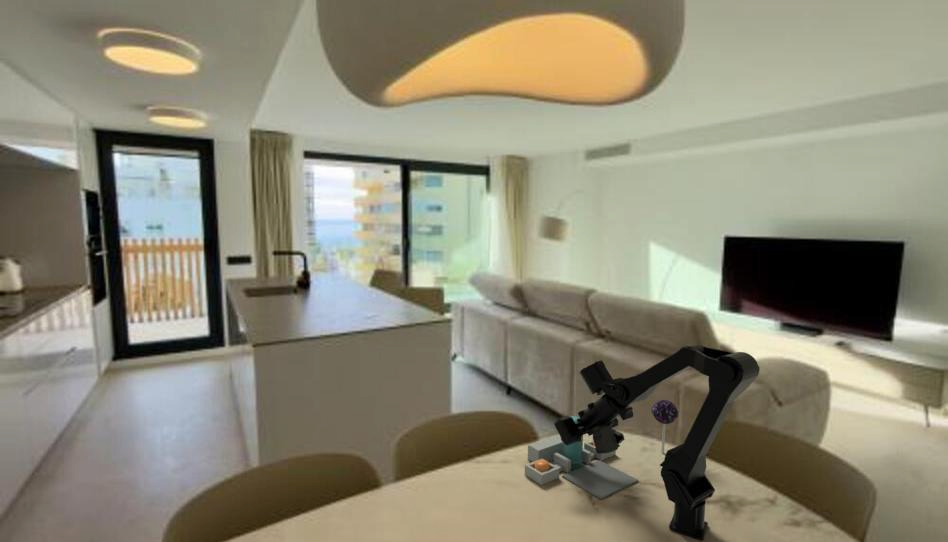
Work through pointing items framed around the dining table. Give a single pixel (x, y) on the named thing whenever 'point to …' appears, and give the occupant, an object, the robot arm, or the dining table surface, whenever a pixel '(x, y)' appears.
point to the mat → (600, 479)
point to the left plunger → (542, 465)
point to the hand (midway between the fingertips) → (569, 437)
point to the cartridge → (574, 451)
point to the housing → (556, 458)
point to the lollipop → (664, 415)
